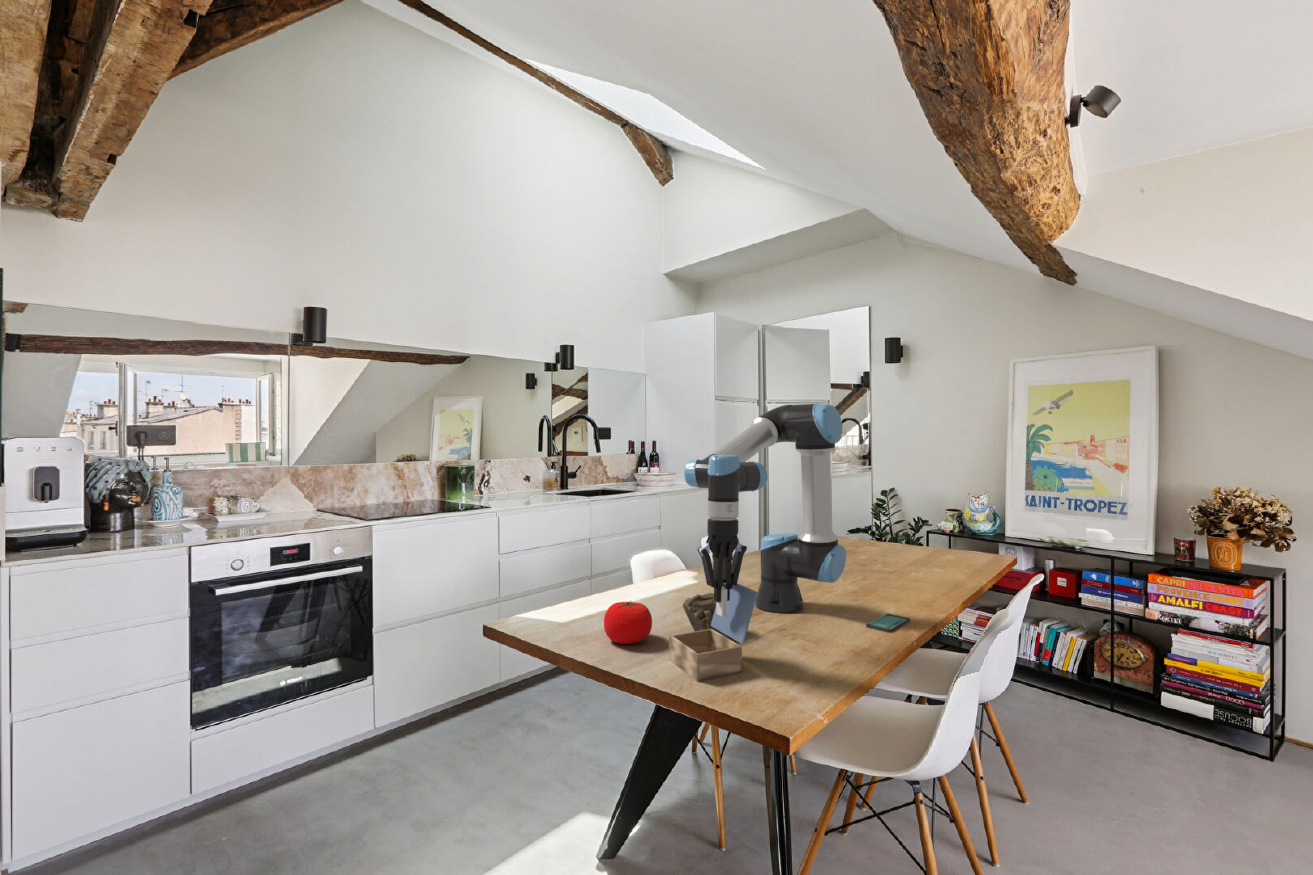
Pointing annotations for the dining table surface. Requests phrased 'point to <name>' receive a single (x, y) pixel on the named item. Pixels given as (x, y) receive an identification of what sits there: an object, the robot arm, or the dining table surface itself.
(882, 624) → the smartphone
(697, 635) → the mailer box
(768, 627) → the dining table surface
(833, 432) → the robot arm
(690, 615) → the stone
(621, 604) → the tomato
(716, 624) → the lid
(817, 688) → the dining table surface
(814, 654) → the dining table surface
